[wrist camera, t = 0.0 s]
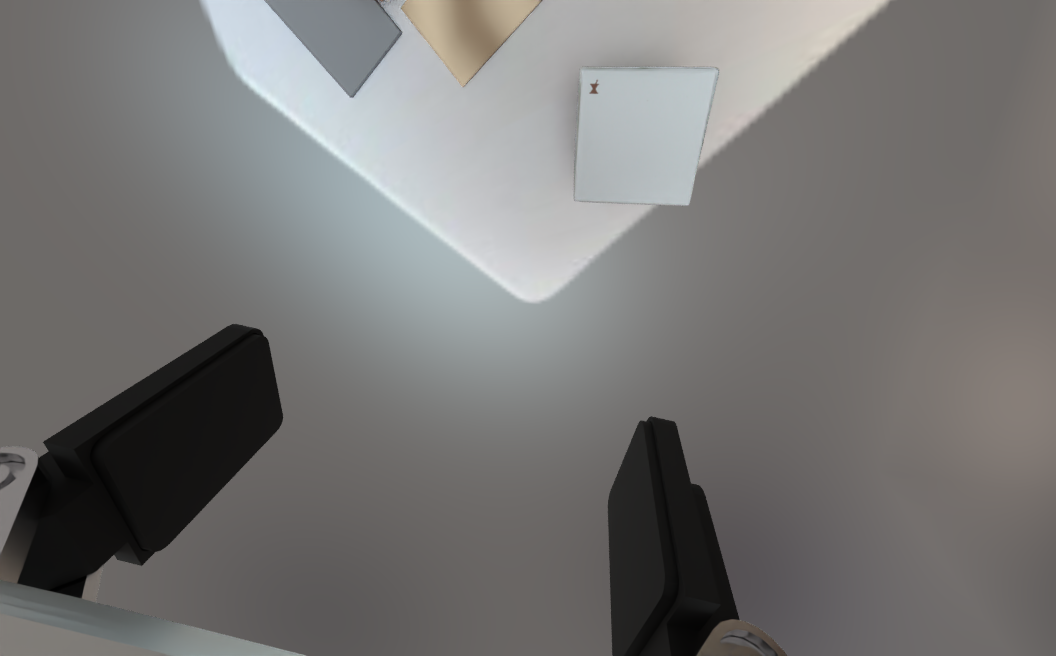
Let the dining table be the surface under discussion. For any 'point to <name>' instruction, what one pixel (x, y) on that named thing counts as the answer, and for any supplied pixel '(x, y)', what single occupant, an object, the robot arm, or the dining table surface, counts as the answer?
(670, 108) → the supplement box
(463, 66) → the pad
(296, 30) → the mat
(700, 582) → the robot arm
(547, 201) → the dining table surface
